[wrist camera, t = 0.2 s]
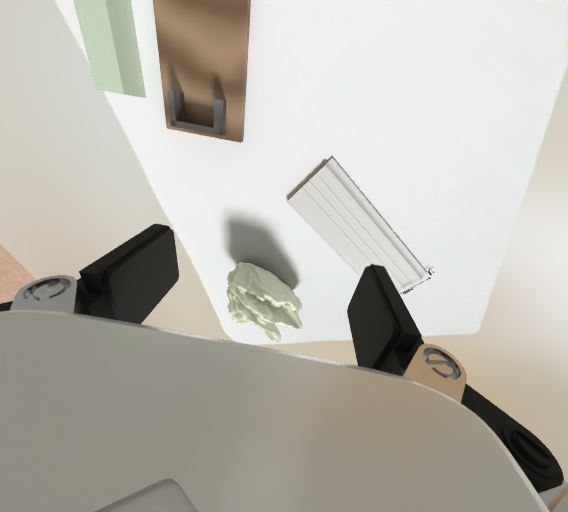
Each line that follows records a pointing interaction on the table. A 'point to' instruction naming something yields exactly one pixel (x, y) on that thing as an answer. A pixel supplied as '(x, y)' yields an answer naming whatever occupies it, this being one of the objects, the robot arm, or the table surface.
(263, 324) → the wavy plaster lump
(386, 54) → the table surface
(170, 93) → the endcap board
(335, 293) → the table surface
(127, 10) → the slat
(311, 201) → the baseboard molding
